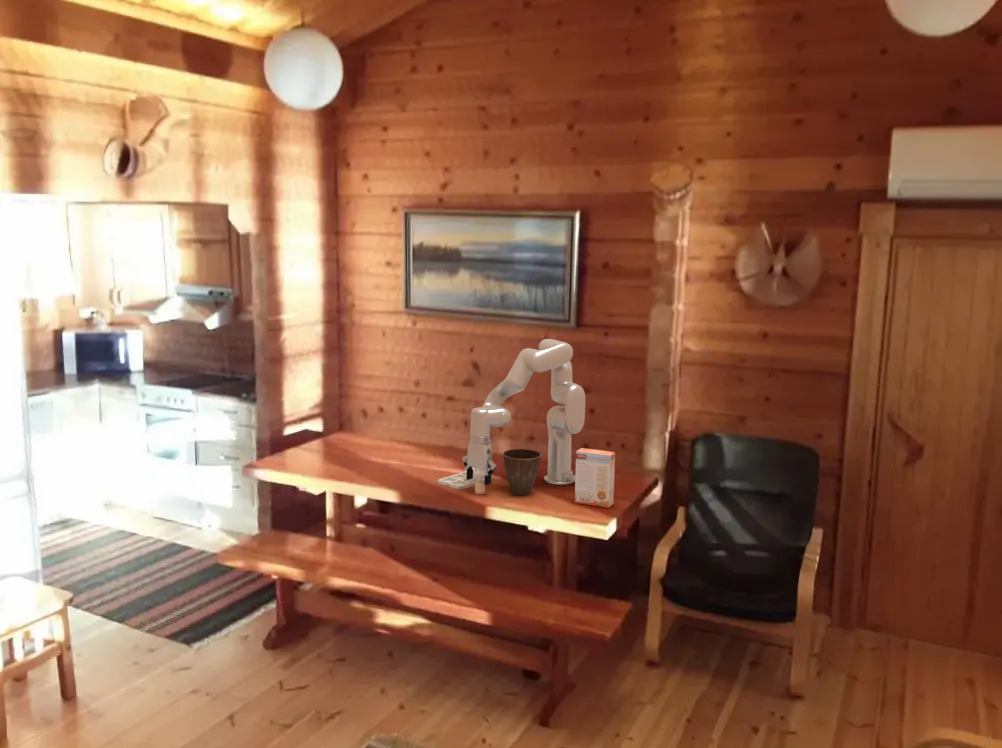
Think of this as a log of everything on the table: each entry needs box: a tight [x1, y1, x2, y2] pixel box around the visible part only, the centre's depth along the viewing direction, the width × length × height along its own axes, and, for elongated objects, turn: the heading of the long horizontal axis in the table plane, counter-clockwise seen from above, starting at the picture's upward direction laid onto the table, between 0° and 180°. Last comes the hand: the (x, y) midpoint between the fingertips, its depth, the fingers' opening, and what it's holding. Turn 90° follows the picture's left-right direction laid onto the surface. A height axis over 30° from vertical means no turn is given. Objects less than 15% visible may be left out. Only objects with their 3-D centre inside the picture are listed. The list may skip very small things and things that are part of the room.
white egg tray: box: [436, 471, 494, 491], centre depth 358 cm, size 13×19×2 cm
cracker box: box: [574, 447, 616, 509], centre depth 333 cm, size 14×6×21 cm, turn 63°
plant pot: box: [502, 448, 542, 496], centre depth 346 cm, size 15×15×16 cm
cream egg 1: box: [465, 469, 476, 483], centre depth 355 cm, size 4×4×6 cm
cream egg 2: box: [475, 468, 486, 479], centre depth 360 cm, size 4×4×6 cm
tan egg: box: [474, 480, 486, 495], centre depth 343 cm, size 4×4×6 cm
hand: (478, 481), depth 342 cm, fingers open, 9 cm apart
